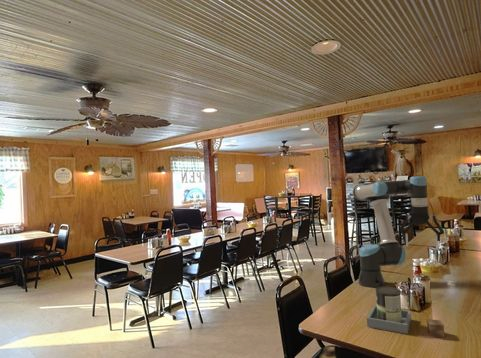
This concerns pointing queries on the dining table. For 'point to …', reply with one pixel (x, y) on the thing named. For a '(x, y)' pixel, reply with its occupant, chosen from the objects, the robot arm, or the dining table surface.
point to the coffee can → (388, 304)
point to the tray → (389, 322)
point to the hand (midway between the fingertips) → (421, 246)
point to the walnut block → (435, 328)
